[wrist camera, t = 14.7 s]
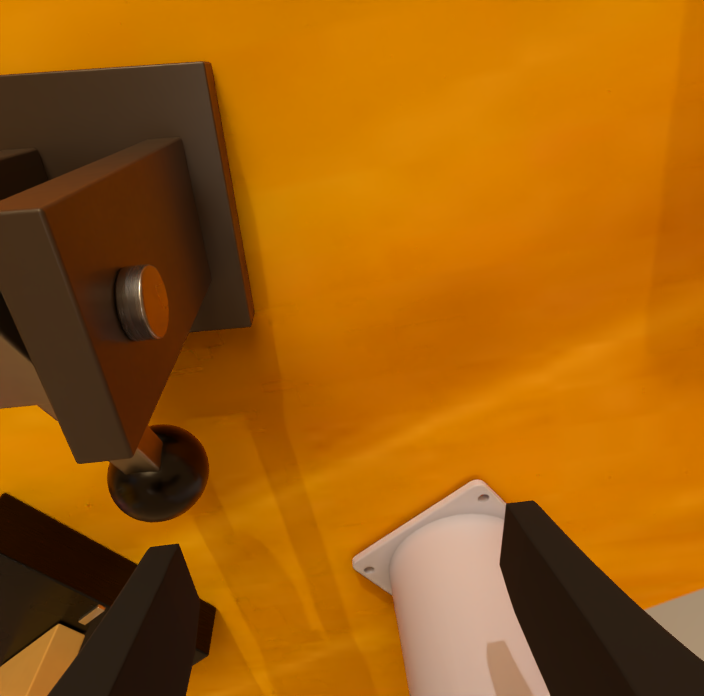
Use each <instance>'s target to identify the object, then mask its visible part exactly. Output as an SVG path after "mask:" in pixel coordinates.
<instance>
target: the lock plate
mask: <svg viewBox="0 0 704 696" xmlns="http://www.w3.org/2000/svg"><path fill="white" fill-rule="evenodd" d="M137 566H138V565H136V564H134V563H133V562H131V561H129V560H127V559H125V558H123V557H122V556H120V555H118V554H116V553H114V552H112V551H111V550H109V549H107V548H105V547H103V546H101V545H100V544H98V543H96V542H94V541H92V540H90V539H89V538H87V537H85V536H83V535H81V534H79V533H78V532H76V531H74V530H72V529H70V528H68V527H67V526H65V525H63V524H61V523H59V522H57V521H56V520H54V519H52V518H50V517H48V516H46V515H45V514H43V513H41V512H39V511H37V510H35V509H34V508H32V507H30V506H28V505H26V504H24V503H23V502H21V501H19V500H17V499H15V498H13V497H12V496H10V495H8V494H6V493H4V494H2V495H1V496H0V667H1V666H2V665H3V664H5V663H6V662H7V661H9V660H10V659H11V658H13V657H14V656H15V655H17V654H18V653H19V652H21V651H22V650H24V649H25V648H26V647H28V646H29V645H30V644H32V643H33V642H34V641H36V640H37V639H38V638H40V637H41V636H42V635H44V634H45V633H46V632H48V631H49V630H50V629H52V628H53V627H54V626H56V625H57V624H62V625H64V626H66V627H68V628H71V629H73V630H75V631H77V632H79V633H82V634H84V635H85V638H84V640H83V643H82V645H81V648H80V651H81V649H82V648H83V646H84V645H85V643H86V642H87V640H88V639H89V638H90V636H91V635H92V633H93V632H94V630H95V629H96V627H97V626H98V625H99V623H100V622H101V620H102V619H103V617H104V616H105V614H106V613H107V611H108V610H109V608H110V607H111V605H112V604H113V602H114V601H115V599H116V598H117V596H118V595H119V593H120V592H121V590H122V589H123V587H124V586H125V584H126V583H127V581H128V580H129V578H130V576H131V575H132V573H133V572H134V570H135V569H136V567H137ZM199 600H200V599H199ZM215 613H216V608H215V607H213V606H211V605H210V604H208V603H206V602H204V601H202V600H200V610H199V620H198V630H197V638H196V647H195V654H194V659H193V664H192V666H193V665H194V664H196V663H198V662H199V661H201V660H202V659H204V658H205V657H207V656H208V655H209V650H210V643H211V637H212V631H213V625H214V619H215ZM80 651H79V652H80Z"/></svg>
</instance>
